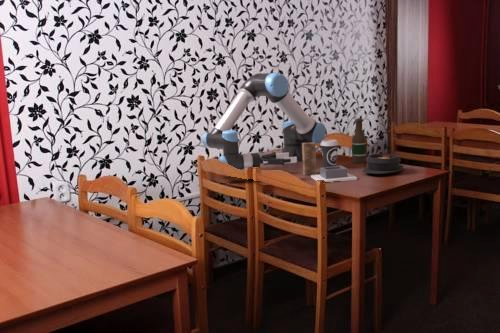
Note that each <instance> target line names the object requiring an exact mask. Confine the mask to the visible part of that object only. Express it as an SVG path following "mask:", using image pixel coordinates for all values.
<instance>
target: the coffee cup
mask: <svg viewBox="0 0 500 333" xmlns="http://www.w3.org/2000/svg"><path fill="white" fill-rule="evenodd" d="M319 145H320V148H321V155H322V164H323V165H322V167H332V166H338V165H337V162H338V149H339V148H338V147H339V146H340V145H339V142H338V140H337V139H324V140H322V142H321V143H319Z"/></svg>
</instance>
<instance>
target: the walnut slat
mask: <svg viewBox="0 0 500 333" xmlns="http://www.w3.org/2000/svg"><path fill="white" fill-rule="evenodd" d="M316 152H317V150H316V144H315V143H314V142H310V143H302V156H303V161H302V175H304V176H311V175H317V155H316Z"/></svg>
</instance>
